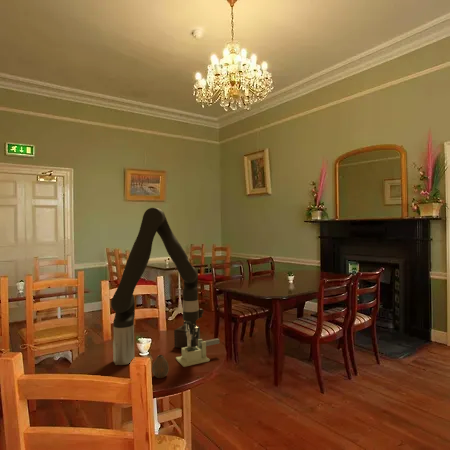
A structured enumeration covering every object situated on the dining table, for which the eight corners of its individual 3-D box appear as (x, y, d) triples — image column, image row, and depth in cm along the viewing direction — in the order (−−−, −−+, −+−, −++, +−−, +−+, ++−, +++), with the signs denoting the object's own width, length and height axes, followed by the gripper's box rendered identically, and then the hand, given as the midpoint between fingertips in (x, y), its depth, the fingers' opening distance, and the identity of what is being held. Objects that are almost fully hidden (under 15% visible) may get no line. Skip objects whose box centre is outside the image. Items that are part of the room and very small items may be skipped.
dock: (183, 366, 162) (183, 348, 162) (175, 359, 171) (175, 341, 171) (209, 361, 168) (209, 343, 168) (200, 354, 177) (200, 337, 177)
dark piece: (192, 350, 182) (192, 315, 182) (173, 347, 187) (173, 313, 186) (205, 340, 197) (205, 307, 196) (188, 338, 201) (187, 306, 201)
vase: (169, 372, 157) (169, 352, 156) (167, 379, 150) (167, 358, 150) (153, 373, 156) (153, 353, 156) (151, 380, 150) (150, 359, 149)
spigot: (189, 354, 167) (189, 332, 166) (186, 351, 170) (185, 330, 170) (197, 352, 169) (196, 331, 168) (193, 350, 172) (193, 329, 172)
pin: (200, 347, 170) (200, 343, 170) (199, 345, 172) (198, 341, 172) (219, 343, 175) (219, 339, 175) (217, 342, 177) (217, 338, 177)
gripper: (204, 311, 164) (205, 348, 165) (192, 305, 177) (193, 339, 177) (189, 313, 161) (189, 351, 161) (177, 307, 174) (178, 342, 174)
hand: (191, 345), depth 169 cm, fingers closed on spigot, 4 cm apart
